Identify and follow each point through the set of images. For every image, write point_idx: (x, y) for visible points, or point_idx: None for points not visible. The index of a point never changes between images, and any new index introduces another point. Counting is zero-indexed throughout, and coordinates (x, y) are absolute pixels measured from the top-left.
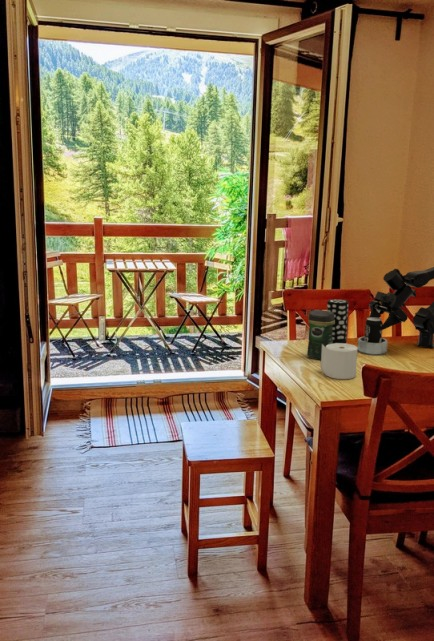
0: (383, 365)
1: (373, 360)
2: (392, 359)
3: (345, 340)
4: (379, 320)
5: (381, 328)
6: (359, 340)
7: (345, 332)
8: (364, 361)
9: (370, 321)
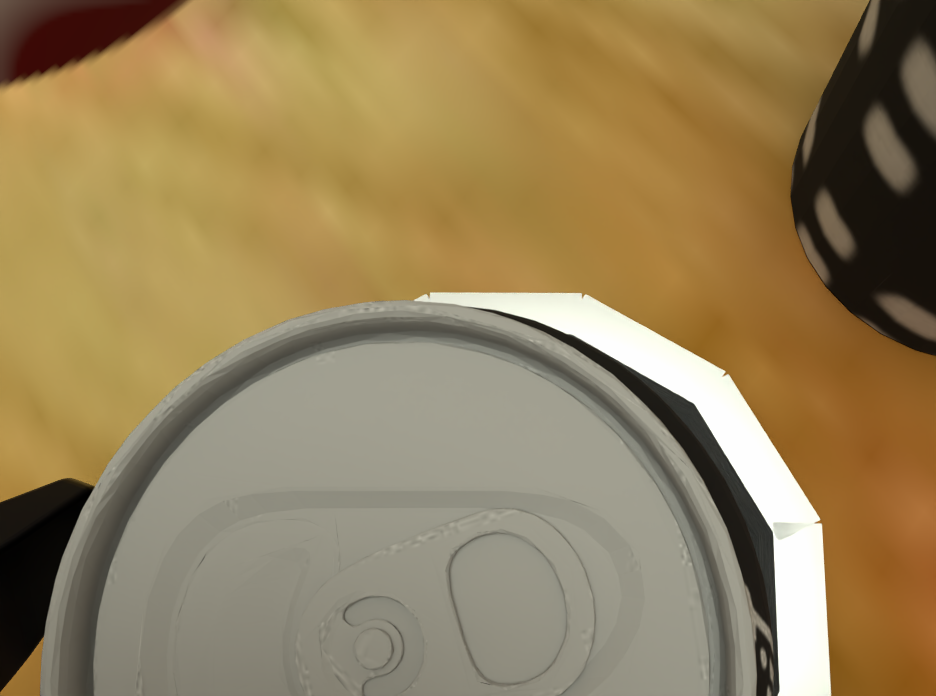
0: (15, 138)
1: (214, 205)
2: (57, 460)
3: (853, 150)
4: (62, 580)
5: (63, 493)
6: (642, 327)
7: (912, 29)
8: (269, 77)
9: (370, 321)
